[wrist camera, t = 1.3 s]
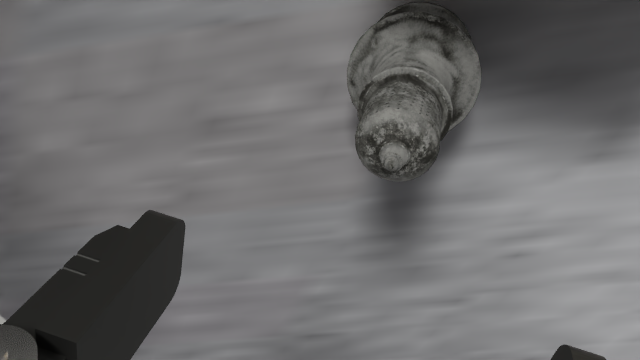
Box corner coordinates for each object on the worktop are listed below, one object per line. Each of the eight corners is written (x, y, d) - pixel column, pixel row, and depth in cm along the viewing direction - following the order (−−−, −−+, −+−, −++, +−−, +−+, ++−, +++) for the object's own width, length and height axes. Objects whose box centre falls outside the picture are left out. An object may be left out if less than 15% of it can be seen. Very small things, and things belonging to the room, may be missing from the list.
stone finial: (386, -24, 25) (334, 44, 15) (502, 24, 25) (528, 125, 15) (343, 85, 29) (276, 203, 18) (446, 129, 28) (437, 271, 18)
